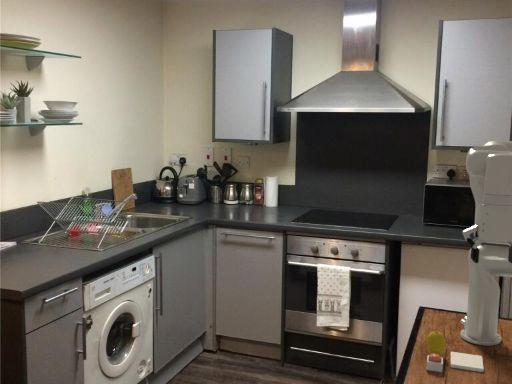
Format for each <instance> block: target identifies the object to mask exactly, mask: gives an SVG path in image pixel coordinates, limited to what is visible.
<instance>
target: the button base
mask: <svg viewBox="0 0 512 384" xmlns="http://www.w3.org/2000/svg"><path fill="white" fill-rule="evenodd" d="M426 358H427V359H426V371H431V372H438V373H443V370H444V369H443V367H444V357H442V356H440V362H439V363H437V362H431V361H430V355H429V354H428V355H427V357H426Z"/></svg>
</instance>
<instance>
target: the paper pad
mask: <svg viewBox="0 0 512 384" xmlns="http://www.w3.org/2000/svg"><path fill="white" fill-rule="evenodd" d="M483 362H484V360H483V355H478V354H470V353H463V352H456V351H450V368H454V369H459V370H460V369H461V370H466V371H472V372H480V373H484V363H483Z"/></svg>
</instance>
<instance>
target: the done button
mask: <svg viewBox="0 0 512 384" xmlns="http://www.w3.org/2000/svg"><path fill="white" fill-rule="evenodd" d="M440 357H441V355H440V354H432V353H430V361H431V362H437V363H439V362H440Z"/></svg>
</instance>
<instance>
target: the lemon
mask: <svg viewBox="0 0 512 384" xmlns="http://www.w3.org/2000/svg"><path fill="white" fill-rule="evenodd" d="M426 337H427V338H426V341H425V344H426V345H425V346H426V350H428V352H430V354H438V355H440V354H442V353H443V351H444V350H445V347H446V340H445V337H444V335H443V334H442V333H441V332H440V331H438V330H434V331H430V332H429V333H428V335H427V336H426Z"/></svg>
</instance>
